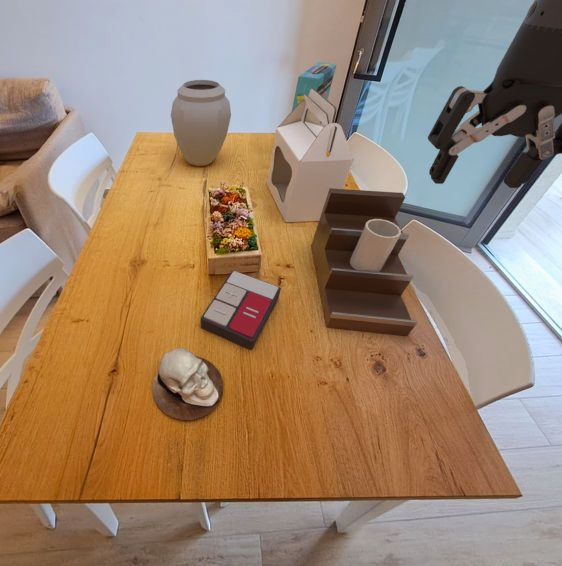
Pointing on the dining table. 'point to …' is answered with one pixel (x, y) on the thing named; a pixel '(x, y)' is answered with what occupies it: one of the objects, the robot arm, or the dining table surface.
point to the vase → (200, 120)
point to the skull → (186, 385)
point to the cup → (374, 245)
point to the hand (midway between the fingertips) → (472, 183)
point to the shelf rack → (353, 283)
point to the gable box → (308, 159)
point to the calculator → (241, 309)
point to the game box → (314, 82)
